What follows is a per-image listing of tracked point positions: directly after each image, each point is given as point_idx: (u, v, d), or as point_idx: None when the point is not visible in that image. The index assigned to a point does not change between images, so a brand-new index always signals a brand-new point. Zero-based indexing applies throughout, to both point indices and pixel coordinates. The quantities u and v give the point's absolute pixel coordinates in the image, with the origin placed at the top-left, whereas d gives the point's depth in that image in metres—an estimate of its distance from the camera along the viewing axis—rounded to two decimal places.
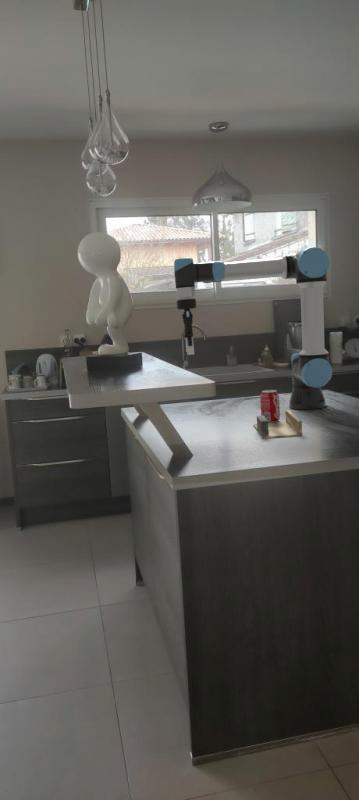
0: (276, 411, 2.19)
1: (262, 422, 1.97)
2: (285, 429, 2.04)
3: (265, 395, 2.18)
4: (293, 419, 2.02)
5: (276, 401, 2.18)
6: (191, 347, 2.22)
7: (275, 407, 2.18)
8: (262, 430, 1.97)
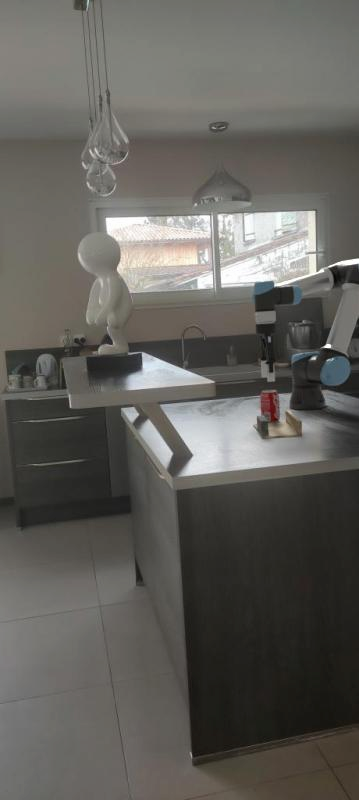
0: (276, 411, 2.19)
1: (262, 422, 1.97)
2: (285, 429, 2.04)
3: (265, 395, 2.18)
4: (293, 419, 2.02)
5: (276, 401, 2.18)
6: (272, 374, 2.12)
7: (275, 407, 2.18)
8: (262, 430, 1.97)
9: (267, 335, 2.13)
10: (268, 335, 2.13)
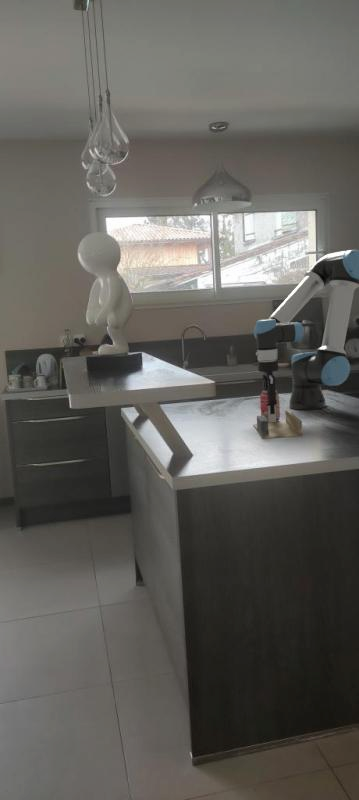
0: (276, 411, 2.19)
1: (262, 422, 1.97)
2: (285, 429, 2.04)
3: (265, 395, 2.18)
4: (293, 419, 2.02)
5: None
6: (273, 415, 2.17)
7: None
8: (262, 430, 1.97)
9: (269, 373, 2.15)
10: (270, 373, 2.15)
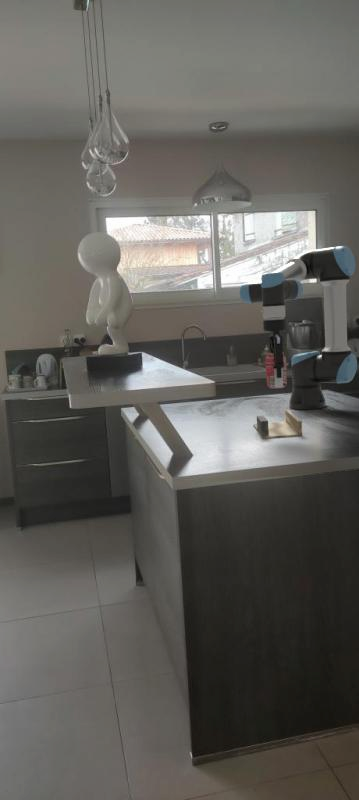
0: (283, 375, 1.97)
1: (262, 422, 1.97)
2: (285, 429, 2.04)
3: (271, 357, 1.96)
4: (293, 419, 2.02)
5: None
6: (280, 379, 1.96)
7: None
8: (262, 430, 1.97)
9: (276, 332, 1.94)
10: (277, 332, 1.94)
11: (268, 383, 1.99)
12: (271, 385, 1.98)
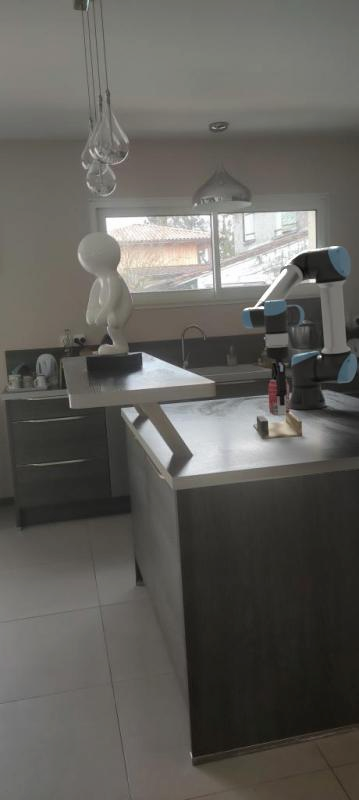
0: (286, 402, 1.97)
1: (262, 422, 1.97)
2: (285, 429, 2.04)
3: (274, 385, 1.96)
4: (293, 419, 2.02)
5: None
6: (283, 406, 1.96)
7: None
8: (262, 430, 1.97)
9: (279, 360, 1.94)
10: (280, 360, 1.94)
11: (271, 410, 1.99)
12: (274, 412, 1.98)
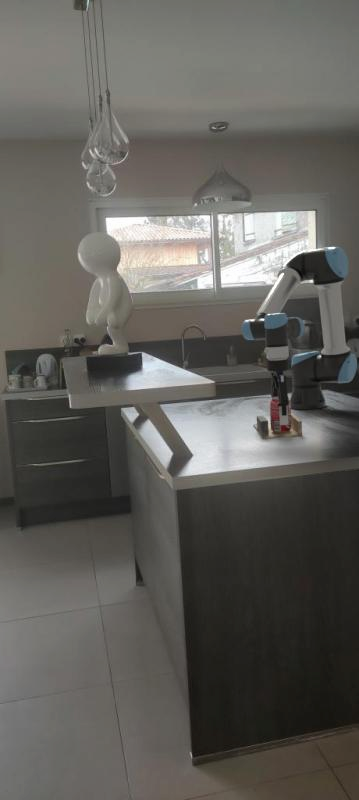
0: None
1: (262, 422, 1.97)
2: None
3: (276, 402, 1.97)
4: (293, 419, 2.02)
5: None
6: (285, 416, 1.94)
7: None
8: (262, 430, 1.97)
9: (279, 373, 1.94)
10: (281, 373, 1.94)
11: (272, 427, 2.00)
12: (275, 430, 1.99)
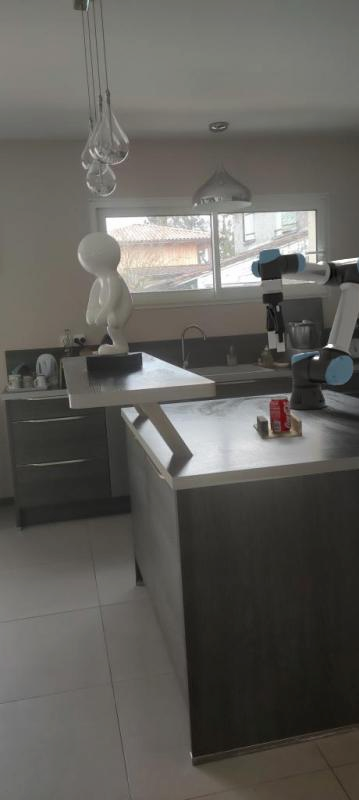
0: (287, 420, 1.98)
1: (262, 422, 1.97)
2: None
3: (275, 403, 1.97)
4: (293, 419, 2.02)
5: (286, 408, 1.97)
6: (282, 344, 2.08)
7: (285, 416, 1.97)
8: (262, 430, 1.97)
9: (275, 304, 2.09)
10: (276, 304, 2.09)
11: (272, 428, 2.00)
12: (275, 430, 1.99)
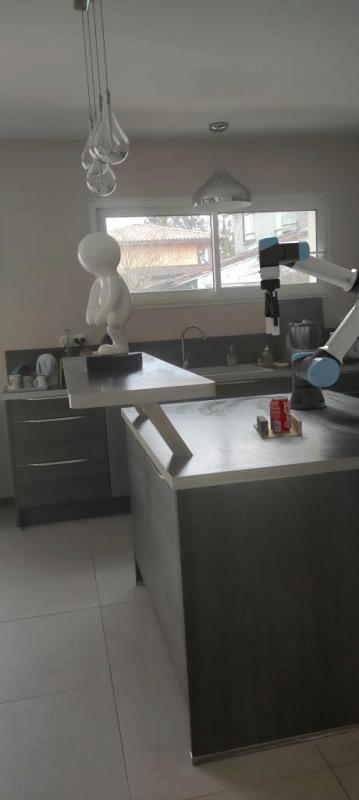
0: (287, 420, 1.98)
1: (262, 422, 1.97)
2: None
3: (275, 403, 1.97)
4: (293, 419, 2.02)
5: (286, 408, 1.97)
6: (277, 327, 2.18)
7: (285, 416, 1.97)
8: (262, 430, 1.97)
9: (272, 290, 2.20)
10: (272, 290, 2.20)
11: (272, 427, 2.00)
12: (275, 430, 1.99)
